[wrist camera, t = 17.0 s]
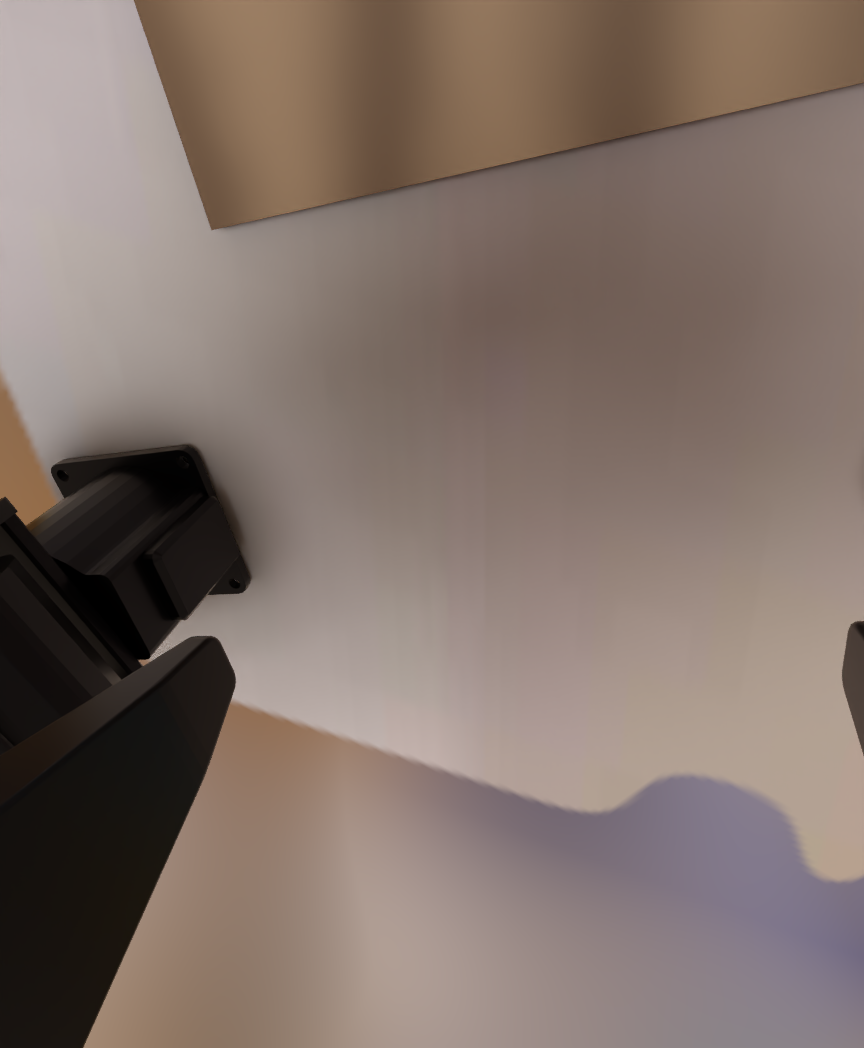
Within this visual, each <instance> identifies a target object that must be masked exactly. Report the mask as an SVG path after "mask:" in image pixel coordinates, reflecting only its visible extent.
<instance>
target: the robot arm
mask: <svg viewBox="0 0 864 1048" xmlns="http://www.w3.org/2000/svg"><path fill="white" fill-rule="evenodd" d="M182 456H183V457H185V458H186V459H187V460H188V461H189V464H188V463H186V462H185V461H184V460H183V459H182ZM65 472H66V473H67V474H68V475H67V474H66V473H65ZM51 473H52V476H53V478H54V480H55V482H56V484H57V486H58V487H59V489H60V491H61V493H62V495H63V497H64V498H65V499H63V500H62V501H60V502H59V503H58V504H56V505H55V506H53V507H52V508H51V509H49V510H48V511H46V512H45V513H43V514H42V515H41V516H39V517H38V518H37V519H35V520H34V521H32V522H31V523H30V524H28V525H26V526H25V525H24V523H23V522H22V521H21V520H20V519H19V517H18V516H17V515H16V514H15V513H16V512H17V510H16V509H15V507H14V506H13V505H12V504H11V503H10V501H9V500H8V499H7V498H6V497H4V498H1V499H0V1048H83V1047H84V1045H85V1043H86V1040H87V1038H88V1036H89V1034H90V1031H91V1029H92V1027H93V1024H94V1023H95V1020H96V1018H97V1016H98V1013H99V1011H100V1009H101V1007H102V1005H103V1002H104V1000H105V998H106V996H107V994H108V991H109V989H110V987H111V985H112V982H113V980H114V978H115V976H116V973H117V971H118V969H119V967H120V965H121V962H122V960H123V958H124V956H125V953H126V951H127V949H128V947H129V944H130V942H131V940H132V938H133V935H134V933H135V931H136V929H137V926H138V924H139V922H140V920H141V918H142V916H143V913H144V911H145V909H146V907H147V904H148V902H149V900H150V898H151V895H152V893H153V891H154V889H155V887H156V884H157V882H158V880H159V878H160V875H161V873H162V870H163V869H164V866H165V864H166V862H167V860H168V857H169V855H170V853H171V851H172V849H173V846H174V844H175V842H176V840H177V838H178V835H179V833H180V831H181V829H182V826H183V824H184V822H185V820H186V817H187V815H188V813H189V811H190V809H191V806H192V804H193V802H194V800H195V797H196V795H197V793H198V791H199V788H200V786H201V783H202V781H203V779H204V777H205V774H206V771H207V769H208V766H209V763H210V760H211V758H212V755H213V752H214V749H215V746H216V743H217V739H218V737H219V734H220V731H221V728H222V725H223V722H224V719H225V716H226V713H227V710H228V707H229V704H230V701H231V698H232V695H233V692H234V689H235V684H236V677H235V673H234V670H233V668H232V666H231V664H230V662H229V660H228V657H227V655H226V653H225V651H224V649H223V647H222V645H221V643H220V641H219V640H218V639H217V638H216V637H213V636H195V637H190V638H188V639H186V640H185V641H183V642H182V643H180V644H178V645H177V646H175V647H173V648H172V649H170V650H169V651H167V652H165V653H164V654H162V655H161V656H159V657H157V658H156V659H154V660H153V661H151V662H149V663H148V664H146V665H145V666H143V665H142V664H141V663H140V662H139V660H140V659H141V660H146V659H149V658H150V657H151V656H152V655H153V653H154V652H155V651H156V650H157V649H158V647H159V646H160V645H161V644H162V643H163V641H164V640H165V639H166V638H167V637H168V635H169V634H170V633H171V632H172V631H173V629H174V628H175V627H176V626H177V624H178V623H179V622H180V621H181V620H186V619H188V618H189V617H190V615H191V614H192V613H193V612H194V610H195V609H196V608H197V607H198V606H199V604H200V603H201V602H202V601H203V599H204V598H205V597H206V596H207V595H216V594H239V593H243V592H244V591H245V590H246V588H247V587H248V586H249V584H250V577H249V575H248V572H247V570H246V567H245V565H244V562H243V560H242V558H241V555H240V552H239V549H238V547H237V545H236V542H235V540H234V537H233V535H232V532H231V530H230V527H229V525H228V523H227V520H226V518H225V515H224V513H223V510H222V508H221V506H220V503H219V501H218V499H217V497H216V494H215V492H214V490H213V487H212V485H211V482H210V480H209V477H208V475H207V473H206V470H205V468H204V465H203V463H202V460H201V458H200V456H199V454H198V453H197V451H196V450H194V449H193V448H192V447H189V446H184V445H183V446H174V447H166V448H158V449H149V450H141V451H133V452H124V453H116V454H108V455H99V456H91V457H83V458H74V459H66V460H62V461H60V462H58V463H57V464H55V465H53V467H52V468H51ZM234 579H236V580H238V581H239V583H238V582H237V581H235V580H234ZM842 681H843V687H844V691H845V695H846V698H847V701H848V705H849V708H850V711H851V715H852V718H853V721H854V725H855V728H856V731H857V735H858V738H859V741H860V745H861V748H862V751H863V755H864V621H857V622H854V623H853V624H851V626H850V628H849V630H848V635H847V642H846V649H845V655H844V662H843V669H842Z"/></svg>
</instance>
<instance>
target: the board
mask: <svg viewBox="0 0 864 1048" xmlns="http://www.w3.org/2000/svg"><path fill="white" fill-rule="evenodd" d="M134 2H135V5H136V8H137V11H138V14H139V17H140V20H141V23H142V26H143V29H144V31H145V34H146V37H147V40H148V43H149V46H150V49H151V52H152V55H153V58H154V61H155V64H156V67H157V70H158V73H159V76H160V79H161V82H162V85H163V88H164V91H165V94H166V97H167V99H168V102H169V105H170V108H171V111H172V114H173V117H174V120H175V123H176V126H177V129H178V132H179V135H180V138H181V141H182V144H183V147H184V150H185V153H186V156H187V159H188V162H189V165H190V168H191V170H192V173H193V176H194V179H195V182H196V185H197V188H198V191H199V194H200V197H201V200H202V203H203V206H204V209H205V212H206V215H207V218H208V221H209V224H210V227H211V230H214V229H219V228H223V227H228V226H232V225H236V224H241V223H245V222H250V221H254V220H258V219H263V218H267V217H272V216H276V215H281V214H285V213H289V212H294V211H298V210H303V209H307V208H312V207H316V206H320V205H325V204H329V203H334V202H338V201H342V200H347V199H351V198H356V197H360V196H365V195H369V194H373V193H378V192H382V191H387V190H391V189H396V188H400V187H404V186H409V185H413V184H418V183H422V182H426V181H431V180H435V179H440V178H444V177H449V176H453V175H457V174H462V173H466V172H471V171H475V170H480V169H484V168H488V167H493V166H497V165H502V164H506V163H510V162H515V161H519V160H524V159H528V158H533V157H537V156H541V155H546V154H550V153H555V152H559V151H564V150H568V149H572V148H577V147H581V146H586V145H590V144H594V143H599V142H603V141H608V140H612V139H617V138H621V137H625V136H630V135H634V134H639V133H643V132H648V131H652V130H656V129H661V128H665V127H670V126H674V125H678V124H683V123H687V122H692V121H696V120H701V119H705V118H709V117H714V116H718V115H723V114H727V113H732V112H736V111H740V110H745V109H749V108H754V107H758V106H762V105H767V104H771V103H776V102H780V101H785V100H789V99H793V98H798V97H802V96H807V95H811V94H816V93H820V92H824V91H829V90H833V89H838V88H842V87H846V86H851V85H855V84H860V83H864V0H134Z"/></svg>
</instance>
